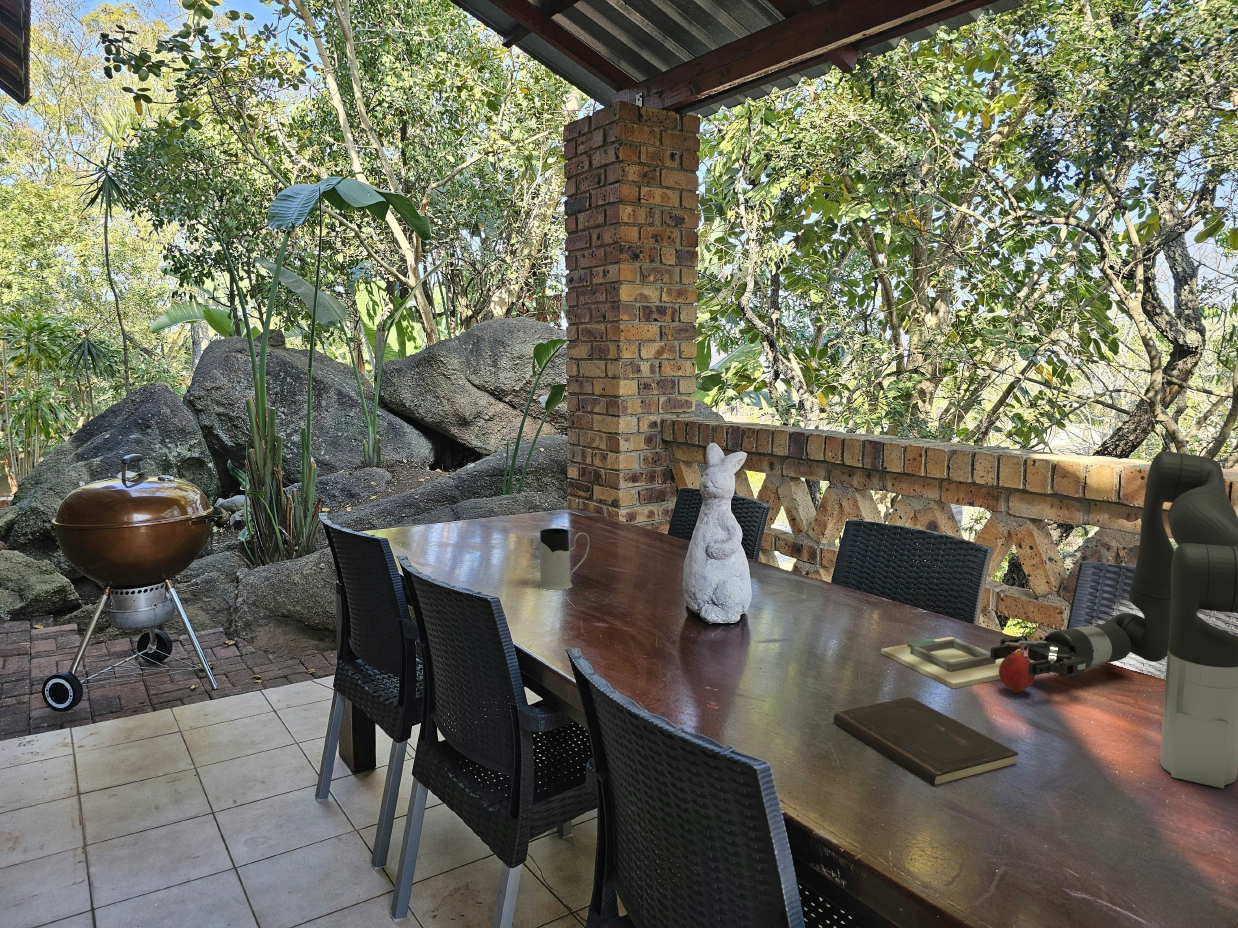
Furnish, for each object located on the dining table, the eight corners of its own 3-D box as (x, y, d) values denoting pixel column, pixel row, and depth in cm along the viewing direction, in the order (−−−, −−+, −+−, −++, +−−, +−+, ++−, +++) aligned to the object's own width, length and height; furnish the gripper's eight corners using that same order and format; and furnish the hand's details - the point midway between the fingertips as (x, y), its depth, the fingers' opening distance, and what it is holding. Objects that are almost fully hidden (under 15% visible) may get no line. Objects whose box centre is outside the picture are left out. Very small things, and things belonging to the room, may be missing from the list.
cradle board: (1028, 673, 162) (1028, 660, 162) (953, 688, 155) (953, 675, 155) (950, 641, 180) (951, 629, 180) (881, 653, 174) (881, 641, 173)
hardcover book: (909, 709, 148) (910, 696, 148) (1017, 767, 127) (1018, 752, 127) (833, 725, 142) (833, 712, 142) (933, 790, 121) (934, 774, 121)
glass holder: (534, 584, 229) (533, 529, 227) (583, 578, 235) (582, 524, 233) (545, 592, 221) (544, 535, 219) (596, 585, 227) (595, 530, 225)
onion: (1013, 700, 150) (1015, 656, 149) (991, 688, 155) (992, 645, 154) (1041, 696, 151) (1043, 652, 150) (1018, 684, 157) (1020, 642, 156)
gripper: (1046, 617, 164) (980, 629, 158) (1113, 640, 151) (1044, 653, 145) (1044, 655, 165) (979, 668, 159) (1111, 681, 152) (1042, 696, 146)
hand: (1010, 661), depth 152 cm, fingers open, 8 cm apart
